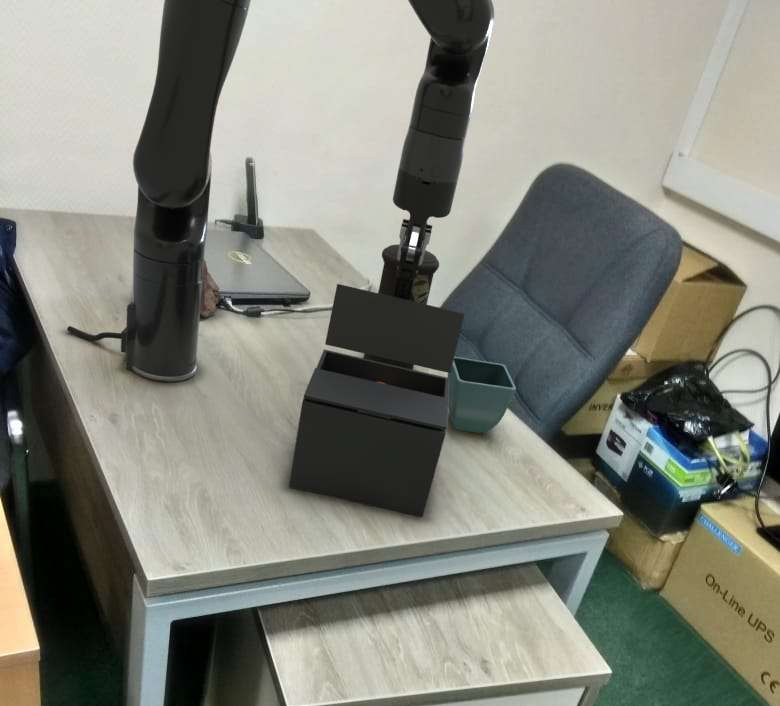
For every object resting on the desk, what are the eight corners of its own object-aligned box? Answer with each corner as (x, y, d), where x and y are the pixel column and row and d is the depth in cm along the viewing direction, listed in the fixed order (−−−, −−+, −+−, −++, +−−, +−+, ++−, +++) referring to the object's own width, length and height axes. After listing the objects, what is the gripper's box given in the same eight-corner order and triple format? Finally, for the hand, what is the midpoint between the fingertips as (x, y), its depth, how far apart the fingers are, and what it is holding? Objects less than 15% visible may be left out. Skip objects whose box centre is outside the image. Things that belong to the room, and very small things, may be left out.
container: (407, 385, 131) (436, 264, 120) (354, 370, 131) (378, 249, 120) (416, 366, 138) (445, 250, 127) (366, 352, 138) (390, 235, 127)
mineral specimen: (180, 348, 136) (115, 292, 137) (232, 310, 142) (169, 257, 144) (184, 302, 126) (114, 243, 127) (240, 263, 132) (172, 207, 134)
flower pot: (436, 407, 126) (449, 354, 121) (489, 415, 128) (505, 363, 123) (443, 434, 119) (458, 380, 114) (499, 443, 121) (517, 389, 116)
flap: (337, 283, 104) (337, 283, 104) (324, 344, 105) (325, 344, 106) (464, 313, 104) (464, 313, 105) (450, 373, 106) (450, 373, 107)
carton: (288, 487, 99) (303, 395, 92) (310, 428, 113) (324, 343, 106) (422, 517, 100) (447, 427, 93) (428, 454, 113) (450, 372, 106)
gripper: (403, 154, 105) (378, 282, 115) (395, 174, 94) (368, 314, 104) (459, 167, 106) (429, 294, 115) (457, 188, 95) (424, 327, 104)
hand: (400, 303), depth 110 cm, fingers closed
